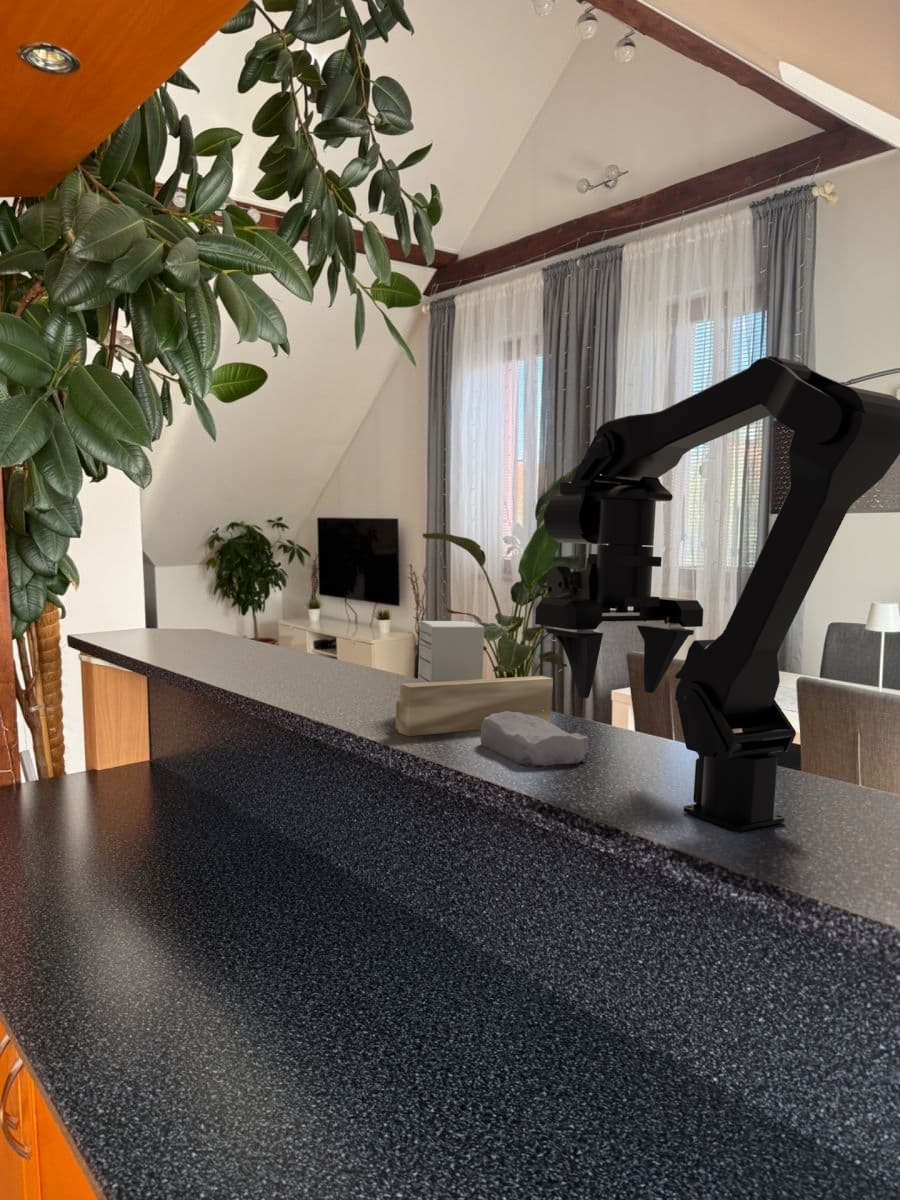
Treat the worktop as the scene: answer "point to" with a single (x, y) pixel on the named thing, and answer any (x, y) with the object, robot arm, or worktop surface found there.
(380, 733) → the worktop surface
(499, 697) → the block
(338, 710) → the worktop surface
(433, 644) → the supplement box
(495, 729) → the stone block
